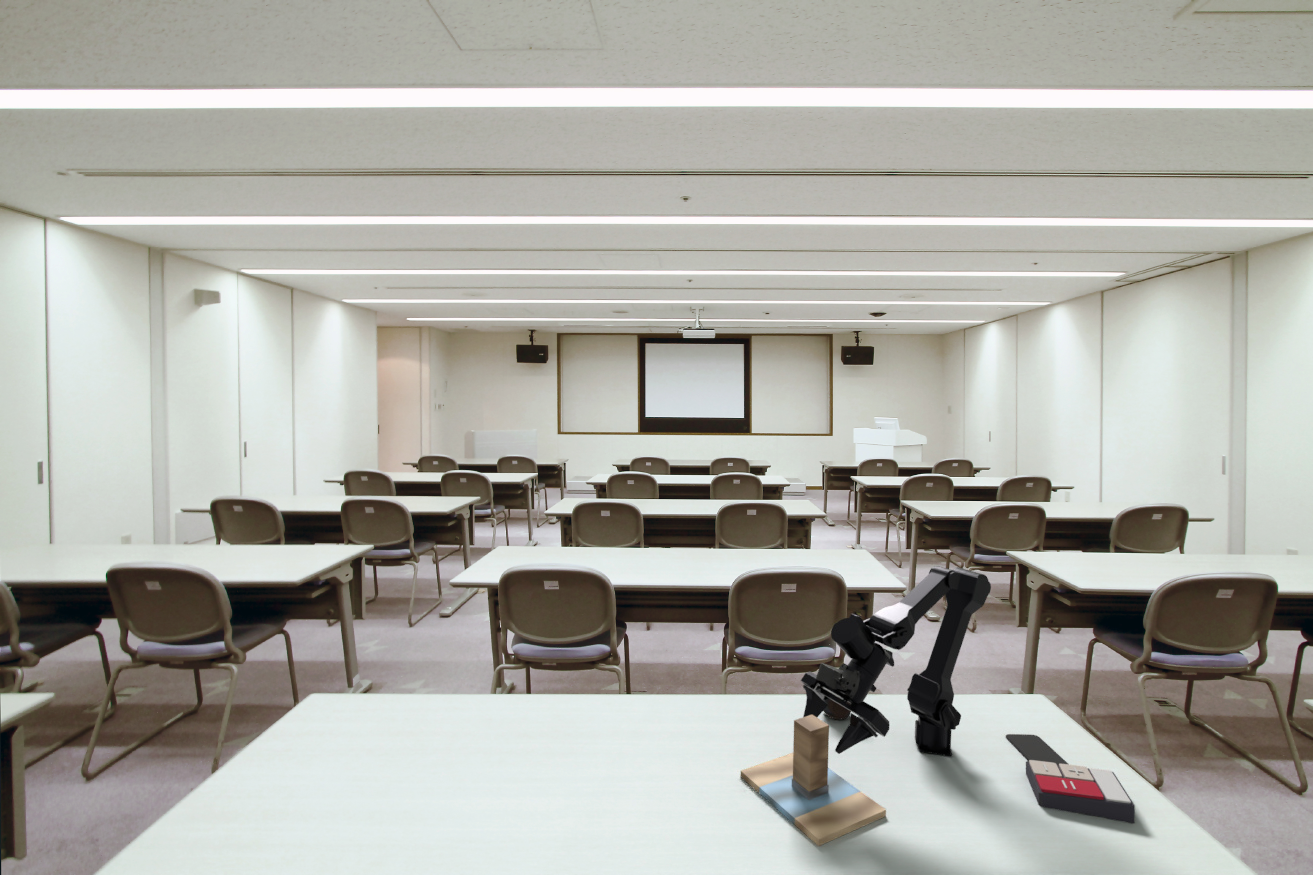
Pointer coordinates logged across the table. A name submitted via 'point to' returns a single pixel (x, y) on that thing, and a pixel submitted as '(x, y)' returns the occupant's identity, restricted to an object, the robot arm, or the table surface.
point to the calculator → (1080, 790)
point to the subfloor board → (813, 801)
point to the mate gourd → (836, 710)
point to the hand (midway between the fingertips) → (819, 740)
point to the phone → (1034, 748)
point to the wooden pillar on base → (810, 757)
